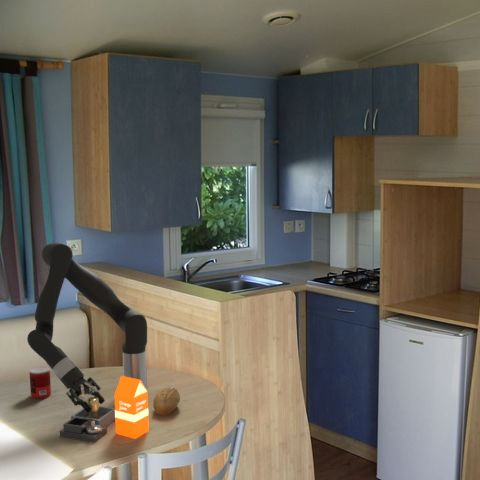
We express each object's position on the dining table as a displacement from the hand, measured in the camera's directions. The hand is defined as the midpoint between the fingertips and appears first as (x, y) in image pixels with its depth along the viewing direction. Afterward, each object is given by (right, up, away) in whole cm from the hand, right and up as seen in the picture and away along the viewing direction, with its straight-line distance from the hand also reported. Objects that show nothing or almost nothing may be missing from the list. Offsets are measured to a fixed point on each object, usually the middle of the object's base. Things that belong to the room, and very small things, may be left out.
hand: (96, 406), depth 261 cm
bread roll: (+24, -4, +13) cm, 28 cm away
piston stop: (-1, -5, +1) cm, 6 cm away
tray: (-1, -6, +1) cm, 7 cm away
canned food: (-28, -3, +29) cm, 41 cm away
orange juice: (+14, -8, -7) cm, 17 cm away
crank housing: (-3, -8, -9) cm, 12 cm away
